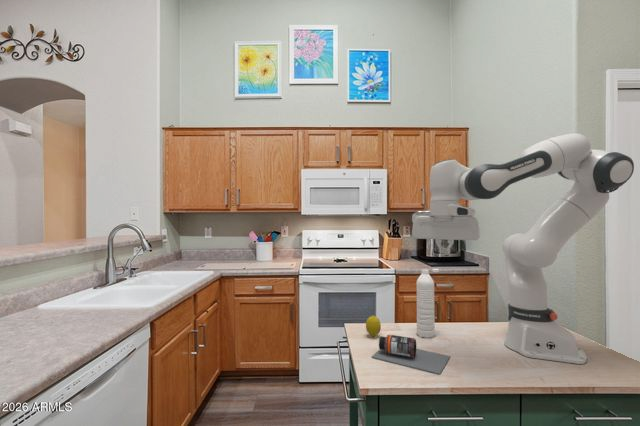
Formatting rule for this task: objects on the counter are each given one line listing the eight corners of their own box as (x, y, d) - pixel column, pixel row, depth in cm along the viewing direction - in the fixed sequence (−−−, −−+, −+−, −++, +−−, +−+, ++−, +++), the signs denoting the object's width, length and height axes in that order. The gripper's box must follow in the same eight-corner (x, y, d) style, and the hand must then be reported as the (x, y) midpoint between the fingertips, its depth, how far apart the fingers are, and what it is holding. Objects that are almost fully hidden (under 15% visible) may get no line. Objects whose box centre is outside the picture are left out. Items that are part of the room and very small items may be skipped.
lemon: (363, 335, 123) (363, 314, 123) (375, 333, 125) (375, 312, 125) (370, 340, 118) (370, 318, 118) (383, 338, 120) (383, 316, 120)
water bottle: (421, 338, 119) (420, 270, 120) (414, 332, 126) (413, 268, 126) (443, 337, 120) (442, 270, 121) (435, 331, 126) (434, 267, 127)
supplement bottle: (417, 353, 105) (382, 347, 110) (416, 335, 104) (382, 330, 109) (413, 362, 99) (378, 355, 104) (413, 343, 99) (377, 337, 104)
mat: (450, 357, 103) (450, 355, 103) (440, 375, 91) (440, 373, 91) (387, 343, 114) (387, 342, 114) (371, 357, 103) (371, 356, 103)
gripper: (409, 210, 106) (409, 252, 106) (477, 209, 95) (478, 256, 95) (414, 211, 112) (415, 251, 111) (480, 210, 100) (480, 254, 100)
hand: (444, 253), depth 103 cm, fingers closed
